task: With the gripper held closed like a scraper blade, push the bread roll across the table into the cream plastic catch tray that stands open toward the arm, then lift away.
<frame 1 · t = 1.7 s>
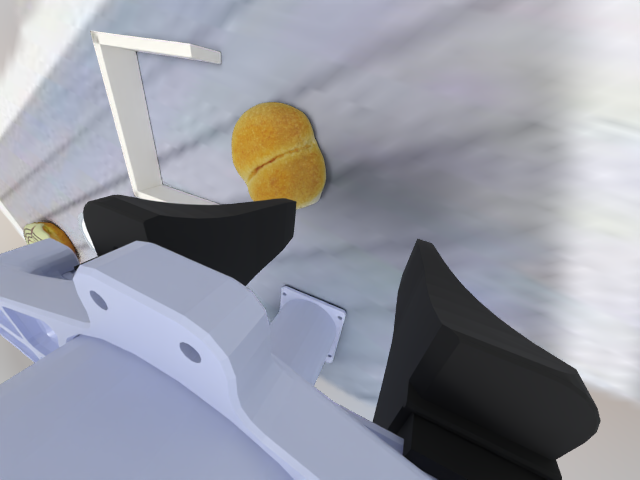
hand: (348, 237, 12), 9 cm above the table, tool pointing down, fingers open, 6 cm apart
decorated donut: (64, 242, 50), on the table
bread roll: (287, 161, 22), on the table
catch tray: (186, 135, 25), on the table
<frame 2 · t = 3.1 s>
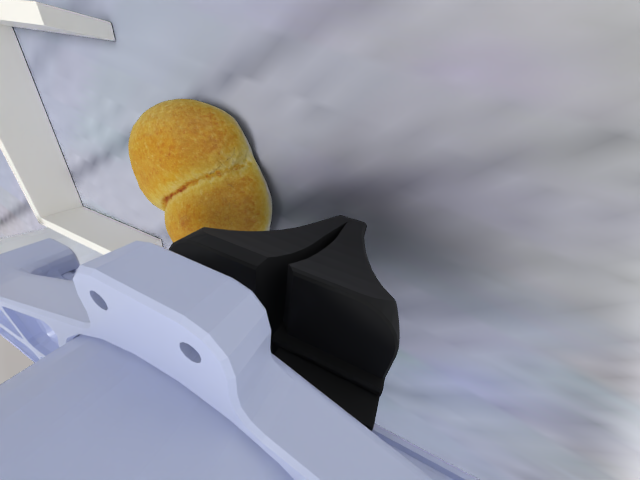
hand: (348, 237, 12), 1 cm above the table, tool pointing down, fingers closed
white short cylinder: (88, 245, 26), on the table
bread roll: (224, 184, 15), on the table
catch tray: (94, 144, 18), on the table
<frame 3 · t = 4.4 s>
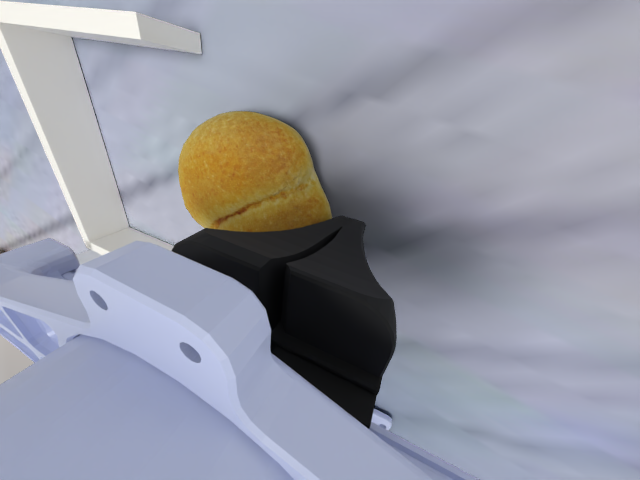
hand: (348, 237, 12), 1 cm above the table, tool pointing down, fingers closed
bread roll: (272, 200, 14), on the table, touching gripper
catch tray: (155, 165, 16), on the table
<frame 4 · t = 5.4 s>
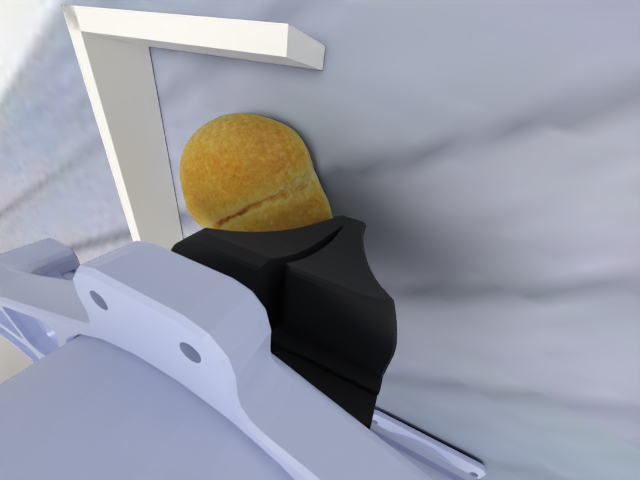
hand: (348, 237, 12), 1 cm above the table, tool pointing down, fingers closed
bread roll: (273, 201, 14), on the table, touching gripper
catch tray: (231, 188, 15), on the table
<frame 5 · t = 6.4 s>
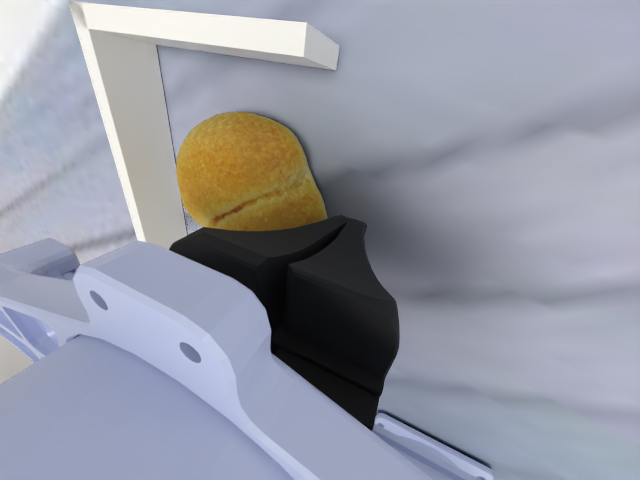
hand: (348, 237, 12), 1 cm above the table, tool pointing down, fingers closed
bread roll: (269, 199, 15), on the table
catch tray: (239, 190, 15), on the table
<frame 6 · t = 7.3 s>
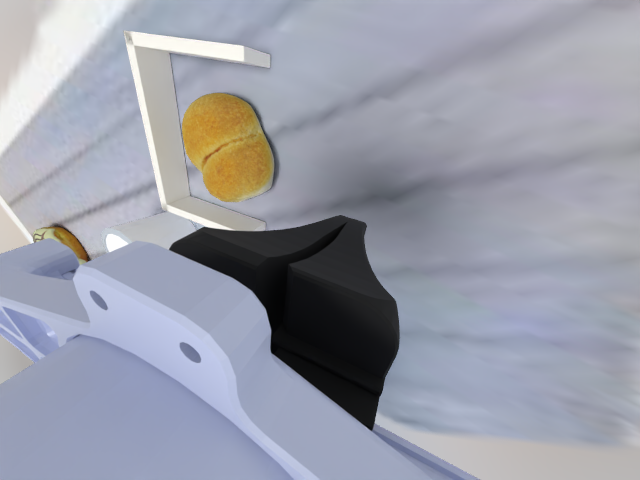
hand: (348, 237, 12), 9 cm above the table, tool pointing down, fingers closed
white short cylinder: (182, 230, 31), on the table
decorated donut: (75, 247, 47), on the table
bread roll: (241, 151, 23), on the table
catch tray: (221, 145, 23), on the table
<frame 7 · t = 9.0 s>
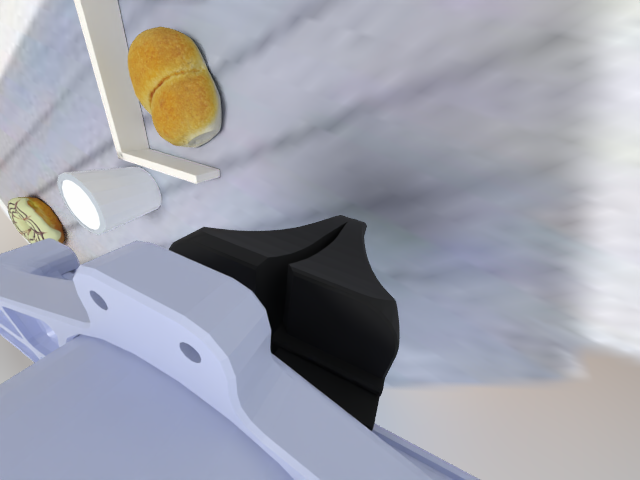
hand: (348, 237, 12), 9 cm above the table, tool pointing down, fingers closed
white short cylinder: (146, 188, 31), on the table
decorated donut: (51, 220, 47), on the table
bread roll: (191, 95, 23), on the table
catch tray: (172, 88, 23), on the table
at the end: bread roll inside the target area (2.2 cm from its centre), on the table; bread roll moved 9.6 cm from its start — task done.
